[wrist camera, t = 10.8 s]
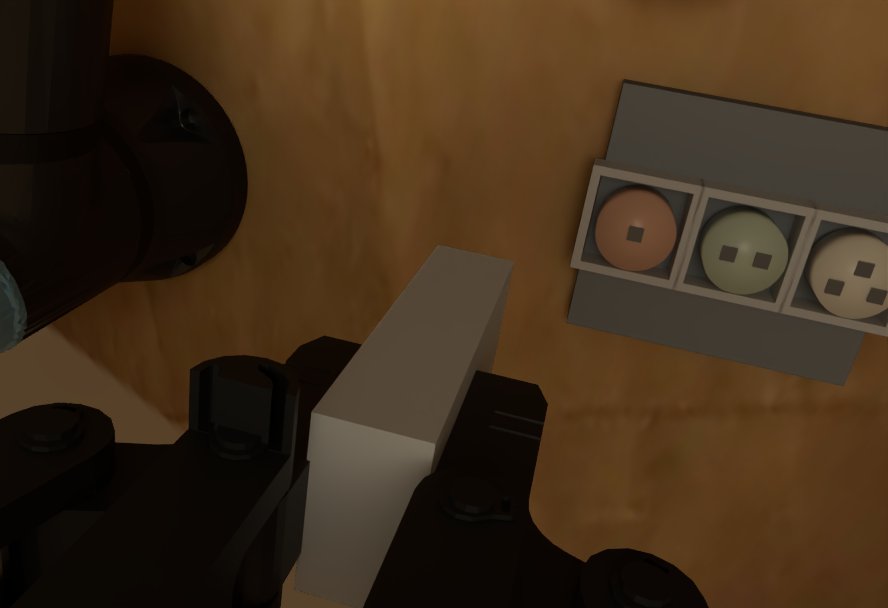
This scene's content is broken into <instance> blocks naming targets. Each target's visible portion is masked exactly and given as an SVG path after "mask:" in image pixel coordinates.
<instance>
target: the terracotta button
mask: <svg viewBox="0 0 888 608" xmlns="http://www.w3.org/2000/svg"><path fill="white" fill-rule="evenodd" d="M595 237H596V243H597V246H598V249H599V251H600V252H601V254H602V255H603V257H604V258H605V259H606V260H607V261H608V262H610V263H611V264H612V265H614V266H616V267H618V268H620V269H624V270H628V271H642V270H647V269H649V268H652V267H654V266H656V265H658V264H659V263H661V262H662V261H663V260H664V259H665V258H666V257H667V256H668V255H669V254H670V252H671V250H672V249H673V247H674V244H675V240H676V224H675V219H674V213H673V210H672V207H671V205H670V203H669V201H668V200H667V199H666V197H665V196H664V195H663V194H661V193H660V192H659V191H657V190H655V189H654V188H651V187H648V186H644V185H629V186H625V187H622V188H620V189H618V190H616V191H614V192H613V193H611V194H610V195H609V196H608V197H607V198H606V199H605V200H604V202H603V203H602V205H601V207H600V209H599V212H598V217H597V223H596V230H595Z"/></svg>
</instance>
